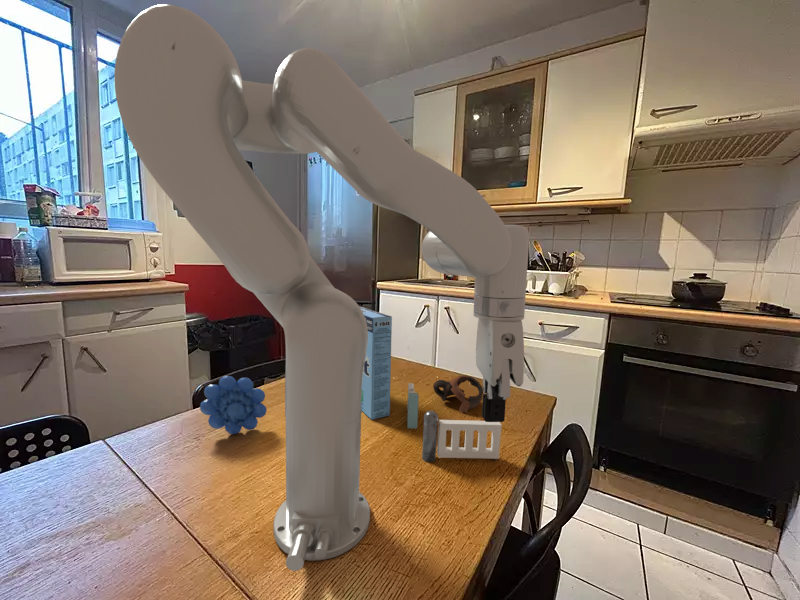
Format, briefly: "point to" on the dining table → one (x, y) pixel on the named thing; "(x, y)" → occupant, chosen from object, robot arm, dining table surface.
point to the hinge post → (429, 436)
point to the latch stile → (412, 410)
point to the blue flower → (233, 404)
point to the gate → (469, 439)
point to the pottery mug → (459, 391)
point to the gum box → (377, 365)
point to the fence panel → (410, 389)
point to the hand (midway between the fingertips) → (492, 419)
